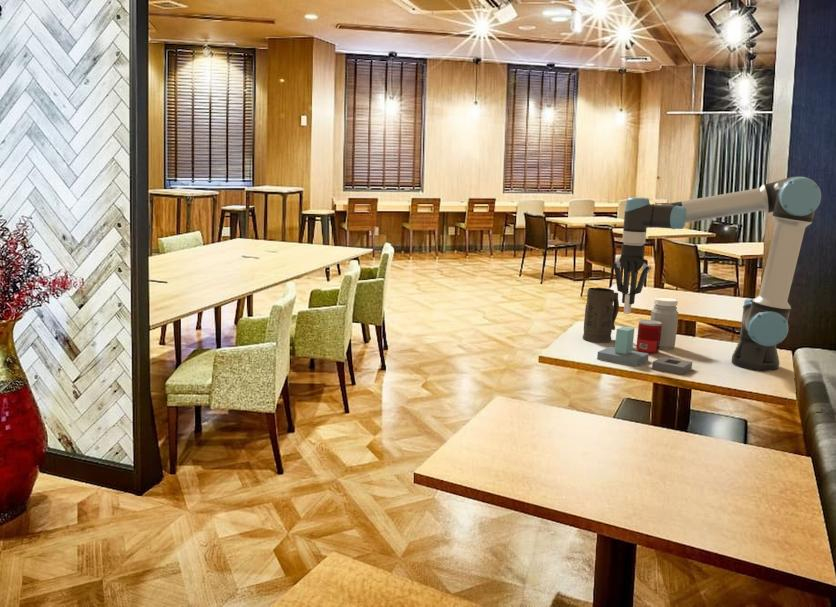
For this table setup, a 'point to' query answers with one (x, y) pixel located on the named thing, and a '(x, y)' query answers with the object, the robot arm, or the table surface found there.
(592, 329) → the beer stein
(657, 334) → the canned food
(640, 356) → the port panel
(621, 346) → the plug
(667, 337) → the jar
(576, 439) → the table surface
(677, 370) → the hollow square frame
